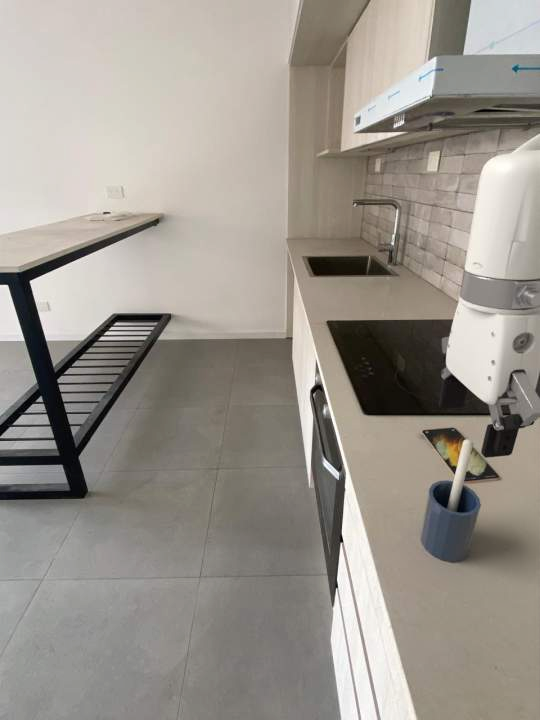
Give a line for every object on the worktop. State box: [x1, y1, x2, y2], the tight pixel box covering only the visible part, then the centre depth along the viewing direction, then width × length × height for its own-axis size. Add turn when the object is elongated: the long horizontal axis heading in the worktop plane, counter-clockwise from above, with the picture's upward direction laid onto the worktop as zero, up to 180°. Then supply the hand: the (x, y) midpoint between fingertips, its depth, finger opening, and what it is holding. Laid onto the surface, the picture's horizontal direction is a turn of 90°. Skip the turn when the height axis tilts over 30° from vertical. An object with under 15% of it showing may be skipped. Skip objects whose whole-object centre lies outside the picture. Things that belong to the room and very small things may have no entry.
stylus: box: [447, 438, 474, 512], centre depth 54 cm, size 1×1×16 cm
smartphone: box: [421, 427, 500, 484], centre depth 73 cm, size 7×1×15 cm
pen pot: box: [420, 479, 482, 563], centre depth 54 cm, size 6×6×9 cm
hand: (471, 428), depth 47 cm, fingers open, 9 cm apart
